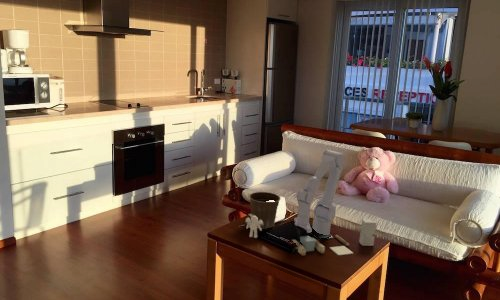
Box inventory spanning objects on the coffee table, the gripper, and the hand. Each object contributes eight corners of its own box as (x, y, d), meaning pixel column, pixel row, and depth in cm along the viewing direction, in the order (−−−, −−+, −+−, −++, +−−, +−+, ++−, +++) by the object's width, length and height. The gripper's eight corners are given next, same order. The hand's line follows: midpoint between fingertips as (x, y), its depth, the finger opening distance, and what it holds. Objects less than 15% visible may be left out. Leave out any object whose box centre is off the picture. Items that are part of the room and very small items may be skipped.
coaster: (329, 248, 212) (329, 247, 212) (343, 246, 215) (344, 245, 215) (338, 255, 205) (338, 254, 205) (353, 253, 208) (353, 252, 208)
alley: (291, 245, 213) (292, 239, 212) (312, 243, 217) (313, 237, 216) (302, 255, 203) (302, 249, 202) (324, 252, 207) (325, 247, 206)
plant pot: (275, 233, 225) (277, 203, 222) (244, 229, 228) (246, 199, 225) (279, 222, 241) (282, 194, 238) (250, 218, 244) (252, 190, 241)
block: (299, 246, 213) (300, 236, 212) (307, 245, 214) (308, 235, 213) (305, 251, 207) (306, 241, 206) (314, 250, 209) (314, 240, 208)
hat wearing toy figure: (243, 236, 220) (245, 213, 217) (245, 233, 223) (247, 211, 221) (261, 239, 217) (262, 216, 215) (263, 236, 221) (264, 213, 218)
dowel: (334, 237, 226) (334, 234, 225) (336, 237, 226) (337, 234, 226) (346, 246, 215) (347, 243, 215) (349, 246, 216) (350, 243, 215)
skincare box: (362, 245, 217) (365, 222, 215) (358, 242, 222) (361, 219, 219) (374, 245, 218) (377, 222, 216) (370, 242, 223) (373, 219, 220)
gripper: (289, 209, 218) (287, 235, 221) (303, 220, 205) (300, 247, 208) (302, 208, 221) (300, 234, 224) (316, 219, 207) (313, 246, 210)
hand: (301, 240), depth 216 cm, fingers closed
